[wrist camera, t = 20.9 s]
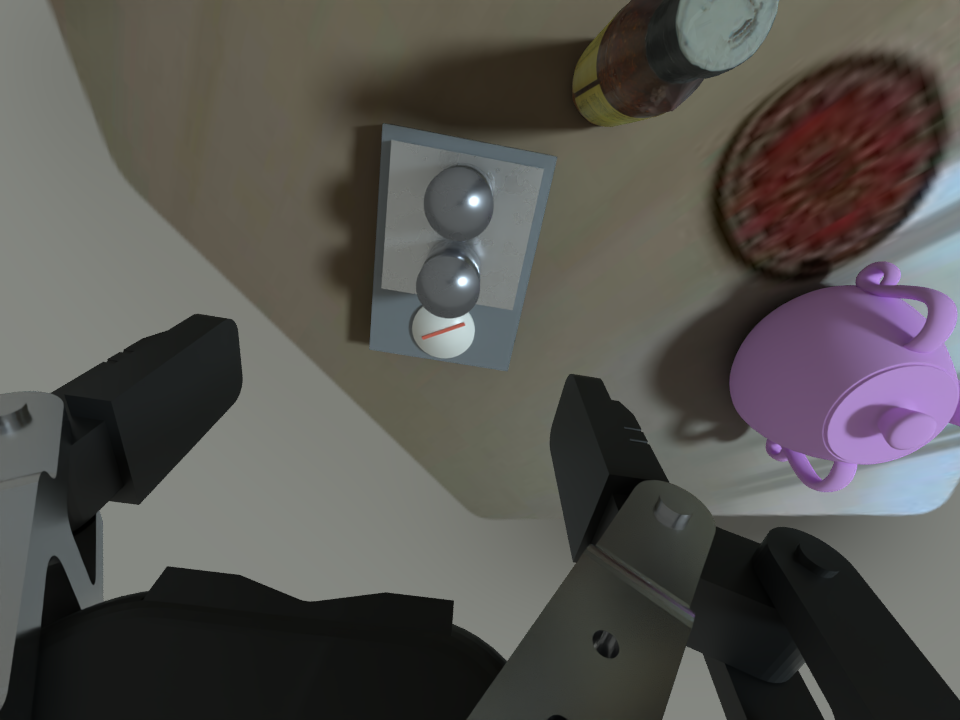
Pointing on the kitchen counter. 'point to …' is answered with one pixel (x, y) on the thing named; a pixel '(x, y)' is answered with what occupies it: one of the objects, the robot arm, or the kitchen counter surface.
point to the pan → (415, 239)
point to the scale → (483, 328)
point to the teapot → (849, 375)
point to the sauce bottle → (664, 55)
